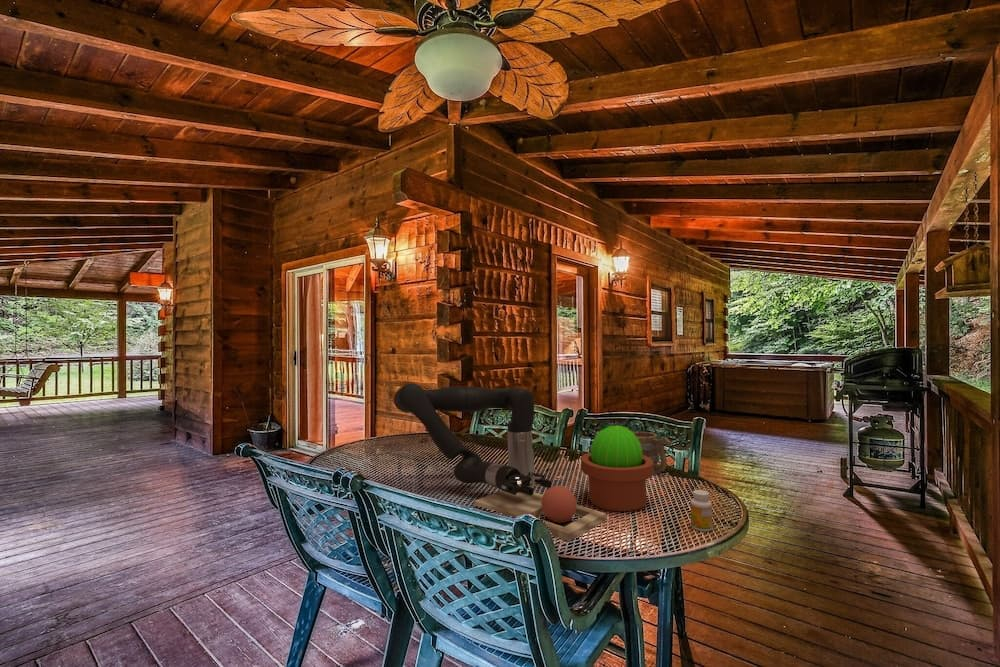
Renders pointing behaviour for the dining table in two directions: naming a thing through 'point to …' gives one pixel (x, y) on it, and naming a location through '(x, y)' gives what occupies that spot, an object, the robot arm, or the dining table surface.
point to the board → (541, 512)
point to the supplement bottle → (701, 511)
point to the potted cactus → (617, 470)
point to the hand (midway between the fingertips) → (541, 488)
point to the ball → (559, 504)
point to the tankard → (653, 449)
